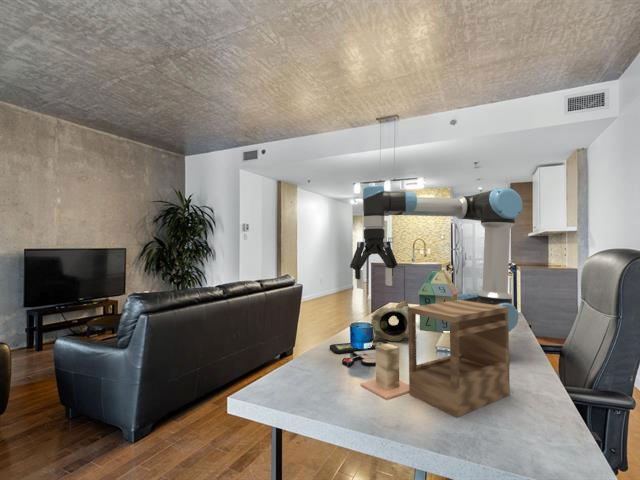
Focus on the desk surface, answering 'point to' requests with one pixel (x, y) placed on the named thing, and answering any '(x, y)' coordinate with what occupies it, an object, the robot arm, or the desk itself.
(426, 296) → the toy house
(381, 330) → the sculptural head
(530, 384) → the desk surface
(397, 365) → the beech block
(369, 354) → the sign
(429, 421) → the desk surface
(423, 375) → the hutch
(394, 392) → the terracotta tile
